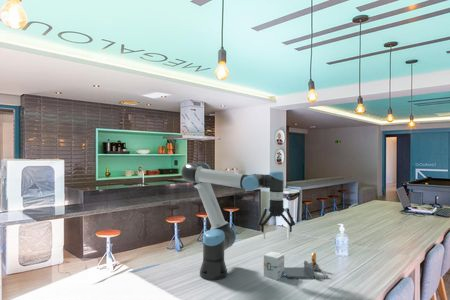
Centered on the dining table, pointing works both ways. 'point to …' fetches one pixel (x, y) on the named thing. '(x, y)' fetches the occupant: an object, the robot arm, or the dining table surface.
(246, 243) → the dining table surface
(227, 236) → the robot arm
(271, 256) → the ink box
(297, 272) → the bed
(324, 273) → the rails
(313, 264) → the lever
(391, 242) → the dining table surface
